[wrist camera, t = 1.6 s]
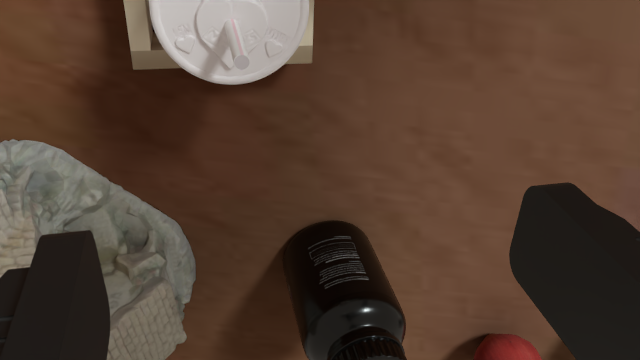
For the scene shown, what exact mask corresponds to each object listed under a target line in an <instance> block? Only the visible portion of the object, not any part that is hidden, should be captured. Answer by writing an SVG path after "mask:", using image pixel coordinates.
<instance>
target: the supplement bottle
mask: <svg viewBox="0 0 640 360" xmlns="http://www.w3.org/2000/svg"><path fill="white" fill-rule="evenodd" d="M283 268H284V273H285V277H286V282H287V286H288V290H289V294H290V298H291V302H292V306H293V310H294V313H295V317H296V321H297V325H298V329H299V333H300V337H301V341H302V345H303V348H304V351H305V354H306V356H307V358H308V359H309V360H407V359H406V357H405V352H404V349H403V346H402V342H403V340H404V336H405V331H406V321H405V317H404V314H403V311H402V309H401V307H400V305H399V302H398V300H397V298H396V296H395V294H394V292H393V290H392V288H391V285H390V283H389V281H388V279H387V277H386V275H385V273H384V271H383V269H382V266H381V264H380V262H379V260H378V258H377V256H376V254H375V252H374V250H373V248H372V246H371V244H370V242H369V240H368V238H367V236H366V235H365V233H364V232H363V231H362V230H361V229H359V228H358V227H356V226H355V225H353V224H350V223H347V222H344V221H334V220H332V221H323V222H319V223H316V224H313V225H311V226H309V227H307V228H305V229H304V230H302V231H301V232H300V233H298V234H297V235H296V236H295V237H294V238H293V239H292V240H291V242H290V243H289V245H288V247H287V249H286V251H285V254H284V258H283Z"/></svg>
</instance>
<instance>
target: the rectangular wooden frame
mask: <svg viewBox="0 0 640 360" xmlns="http://www.w3.org/2000/svg"><path fill="white" fill-rule="evenodd" d="M123 1H124V8H125V15H126V22H127V29H128V36H129V43H130V50H131V57H132V64H133V70H141V69H168V68H182V67H180V66H179V65H178V64H177V63H176V62H175V61H174V60H173V59H172V58H171V57H170V56H169V55H168V54H167V52H166V51H165V50H164V48H163V47H162V45H161V44H160V42H159V40H158V38H157V36H156V33H153V30H152V21H151V16H150V7H149V1H148V0H123ZM313 19H314V0H309V17H308V23H307V27H306V30H305V33H304V36H303V38H302V40H301V43H300V44H299V46H298V48H297V50H296V51H295V52H294V54H293V55H292V56H291V57H290V59H289V60H288V61H287V62H286V63H285V64H301V63H312V49H313Z"/></svg>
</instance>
